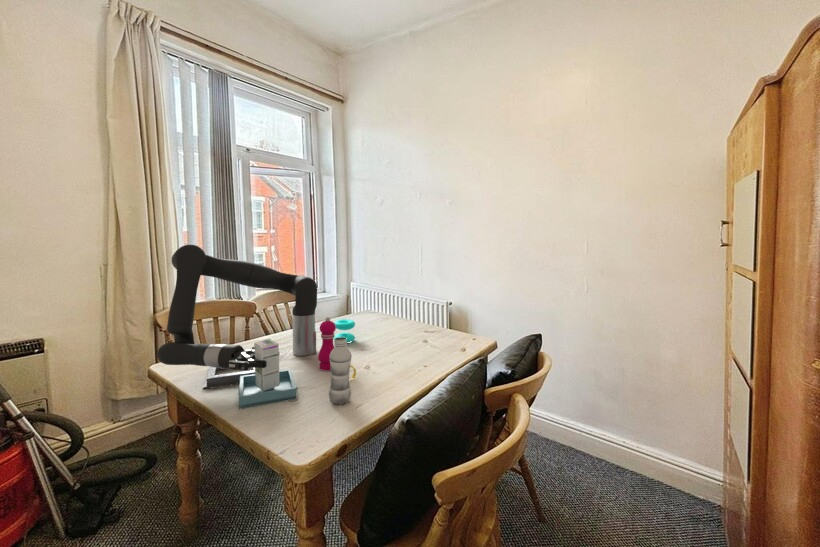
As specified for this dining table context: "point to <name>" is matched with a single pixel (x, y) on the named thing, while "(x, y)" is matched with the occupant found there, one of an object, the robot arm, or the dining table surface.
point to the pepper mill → (326, 343)
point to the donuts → (345, 325)
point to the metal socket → (223, 377)
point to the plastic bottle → (340, 372)
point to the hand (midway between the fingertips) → (272, 359)
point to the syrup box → (270, 373)
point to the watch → (354, 371)
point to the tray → (256, 397)
